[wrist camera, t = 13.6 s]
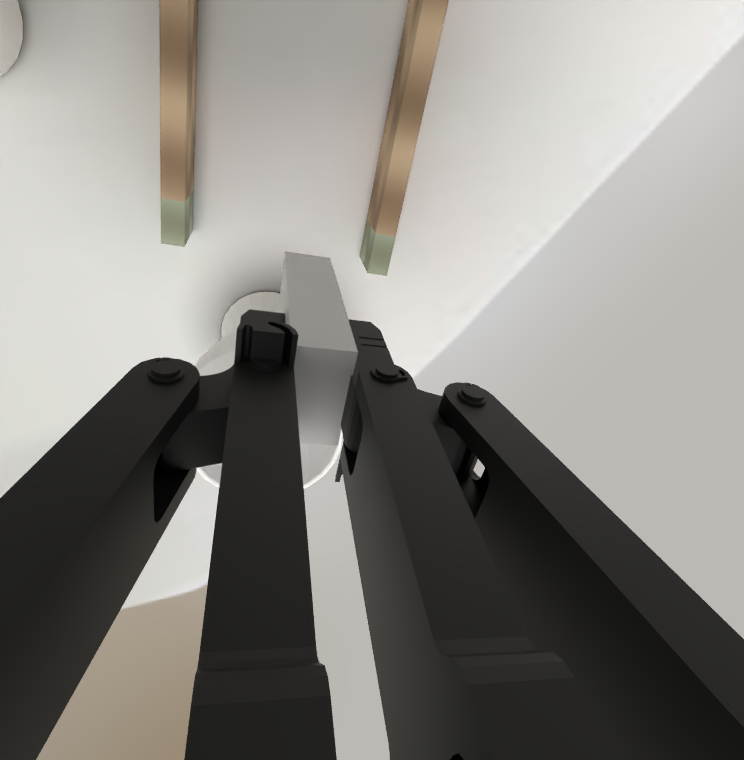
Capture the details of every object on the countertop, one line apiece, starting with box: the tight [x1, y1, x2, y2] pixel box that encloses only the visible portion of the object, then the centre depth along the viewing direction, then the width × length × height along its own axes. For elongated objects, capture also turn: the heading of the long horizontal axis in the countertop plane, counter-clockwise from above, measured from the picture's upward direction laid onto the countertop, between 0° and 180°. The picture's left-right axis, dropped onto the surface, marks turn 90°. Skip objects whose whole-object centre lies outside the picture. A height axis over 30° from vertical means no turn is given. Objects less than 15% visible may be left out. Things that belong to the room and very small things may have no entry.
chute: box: [159, 0, 448, 276], centre depth 33 cm, size 20×16×4 cm
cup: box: [195, 292, 343, 488], centre depth 37 cm, size 11×11×15 cm
